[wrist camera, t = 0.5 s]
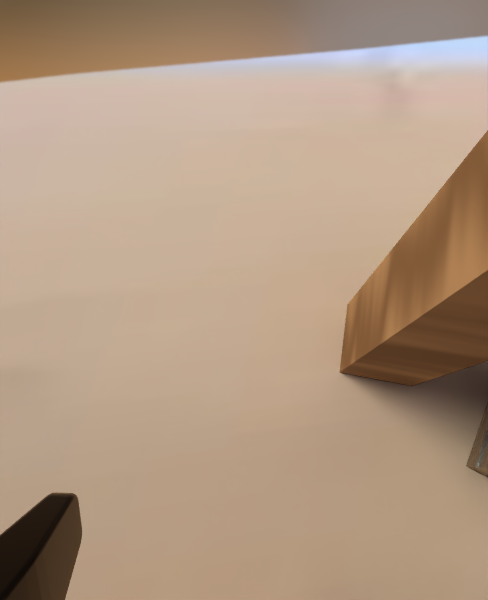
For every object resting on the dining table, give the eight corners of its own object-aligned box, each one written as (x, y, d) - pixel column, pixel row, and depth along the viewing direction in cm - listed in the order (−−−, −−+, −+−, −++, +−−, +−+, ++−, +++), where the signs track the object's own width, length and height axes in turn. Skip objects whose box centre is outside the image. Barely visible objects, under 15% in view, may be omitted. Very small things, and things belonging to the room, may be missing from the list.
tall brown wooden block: (411, 386, 22) (694, 292, 8) (339, 372, 22) (503, 259, 8) (416, 317, 23) (671, 138, 9) (347, 304, 23) (503, 110, 10)
